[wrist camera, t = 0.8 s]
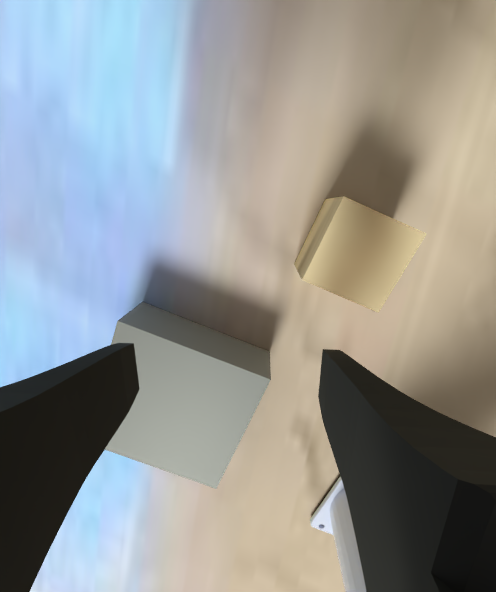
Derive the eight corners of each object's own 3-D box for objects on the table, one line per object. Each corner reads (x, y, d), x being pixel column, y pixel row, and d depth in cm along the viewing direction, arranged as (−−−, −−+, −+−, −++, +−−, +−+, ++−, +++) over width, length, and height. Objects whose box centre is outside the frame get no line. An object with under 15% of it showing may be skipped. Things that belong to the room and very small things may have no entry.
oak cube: (388, 227, 18) (426, 233, 14) (353, 289, 19) (378, 312, 15) (325, 199, 18) (343, 196, 14) (294, 263, 19) (302, 280, 15)
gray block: (269, 349, 21) (270, 379, 18) (223, 445, 24) (216, 488, 21) (144, 300, 21) (117, 320, 17) (112, 404, 24) (84, 441, 20)
